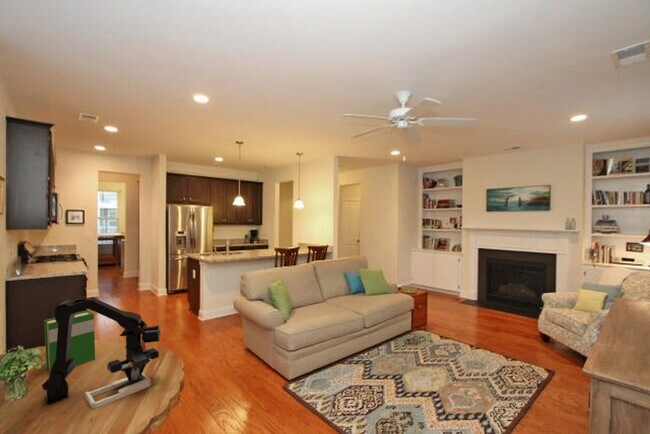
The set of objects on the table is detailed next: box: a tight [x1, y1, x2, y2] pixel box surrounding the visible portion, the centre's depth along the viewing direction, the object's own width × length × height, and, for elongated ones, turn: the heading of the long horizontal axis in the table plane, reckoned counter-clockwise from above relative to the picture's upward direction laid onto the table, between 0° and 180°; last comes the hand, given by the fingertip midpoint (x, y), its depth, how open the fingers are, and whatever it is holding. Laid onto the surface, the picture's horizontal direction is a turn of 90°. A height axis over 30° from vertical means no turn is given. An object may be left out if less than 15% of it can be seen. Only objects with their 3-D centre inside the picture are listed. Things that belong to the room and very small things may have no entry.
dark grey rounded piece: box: [124, 363, 143, 387], centre depth 140 cm, size 7×7×9 cm
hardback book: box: [43, 309, 96, 373], centre depth 158 cm, size 18×7×24 cm, turn 142°
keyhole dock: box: [85, 372, 152, 410], centre depth 136 cm, size 22×11×2 cm, turn 138°
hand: (134, 378), depth 140 cm, fingers closed on dark grey rounded piece, 4 cm apart
